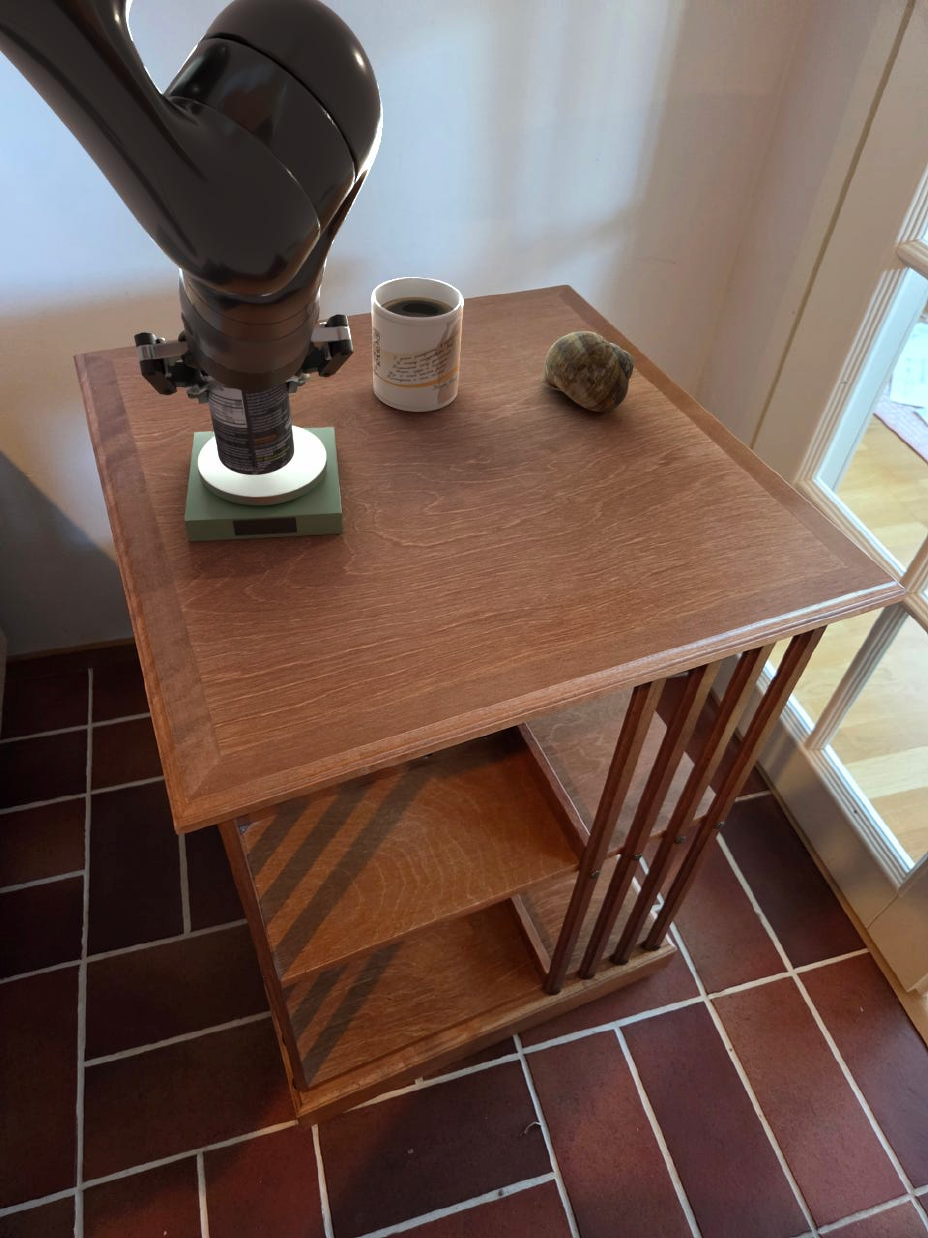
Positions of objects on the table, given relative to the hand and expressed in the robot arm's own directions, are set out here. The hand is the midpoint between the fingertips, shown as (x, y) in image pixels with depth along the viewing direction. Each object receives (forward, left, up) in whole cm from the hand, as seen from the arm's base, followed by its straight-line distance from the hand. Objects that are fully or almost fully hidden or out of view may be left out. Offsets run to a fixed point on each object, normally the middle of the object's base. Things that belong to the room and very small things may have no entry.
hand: (245, 385), depth 63 cm
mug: (+17, +28, -17) cm, 37 cm away
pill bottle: (0, -2, -5) cm, 6 cm away
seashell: (+36, +24, -17) cm, 46 cm away
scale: (0, +9, -17) cm, 19 cm away
